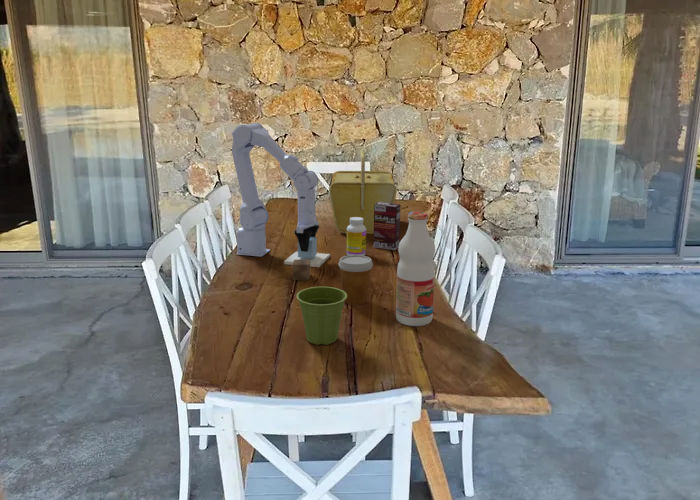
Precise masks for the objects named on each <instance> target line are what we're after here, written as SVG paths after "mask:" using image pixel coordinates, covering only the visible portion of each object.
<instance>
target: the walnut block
mask: <svg viewBox="0 0 700 500" xmlns="http://www.w3.org/2000/svg"><path fill="white" fill-rule="evenodd" d="M310 278H311V267H310V260H294V261H293V265H292V280H293V281H310Z"/></svg>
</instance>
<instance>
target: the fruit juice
mask: <svg viewBox="0 0 700 500" xmlns="http://www.w3.org/2000/svg"><path fill="white" fill-rule="evenodd" d="M428 220H429V213H427V212H424V211H410V212H408V214H407V221H408V227H407V230H406V232H405V234H404V236H403V237H402V239H401V240H399V247H398V248H397V250H398V255H399V261H398V263H397V267H396V269H397V271H396V293H395V294H396V295H395V296H396V298H395V299H396V301H395V317H396V321H397V322H398V323H400V324H402V325H405V326H410V327H423V326H427V325H429V324H430V323H432V321H433V316H434V315H433V314H434V295H435V294H434V293H435V292H434V291H435V275H436V273H435V271H436V270H435V263H434V256H435V253H436V246H435V245H436V244H435V241H434V240H433V239H432V238H431V236H430V234H429V231H428V226H427V225H428V224H427V222H428ZM426 324H427V325H426ZM422 325H423V326H422Z"/></svg>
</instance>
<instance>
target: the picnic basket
mask: <svg viewBox="0 0 700 500" xmlns="http://www.w3.org/2000/svg"><path fill="white" fill-rule="evenodd" d="M365 167H366V152H365V149H364V148H361V151H360V170H337V171H334V172H333V173H332V175H331V183H330V185H329V186H328V191H329V192H328V193H329V198H330V203H331V209H332V215H333V219H334V220H333V221H334V226H335V228H336V230H337V231H338V232H340V233H342V234H346V235H347V227H348V226H349V225H350V218H352V217H361V218H363V219H364V220H363V221H364V222H363V225H364V226H365V227H366V235H374V205H375V204H376V203H378V202H381V203H391V204H395V201H396V197H397V192H398V188H397V185H396V184H395V181H394V175H393V174H392V172H390V171H386V170H366V168H365Z"/></svg>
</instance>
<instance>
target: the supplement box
mask: <svg viewBox="0 0 700 500" xmlns="http://www.w3.org/2000/svg"><path fill="white" fill-rule="evenodd" d="M400 227H401V204H400V203H394V204H391V203H381V202H378V203H376V204H375V205H374V234H372V235H373V236H372V237H373V239H372V240H373V241H372V242H373V244H372V247H373V248H377V249H385V250H392V251H396V250H398V247H399V243H400Z"/></svg>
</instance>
